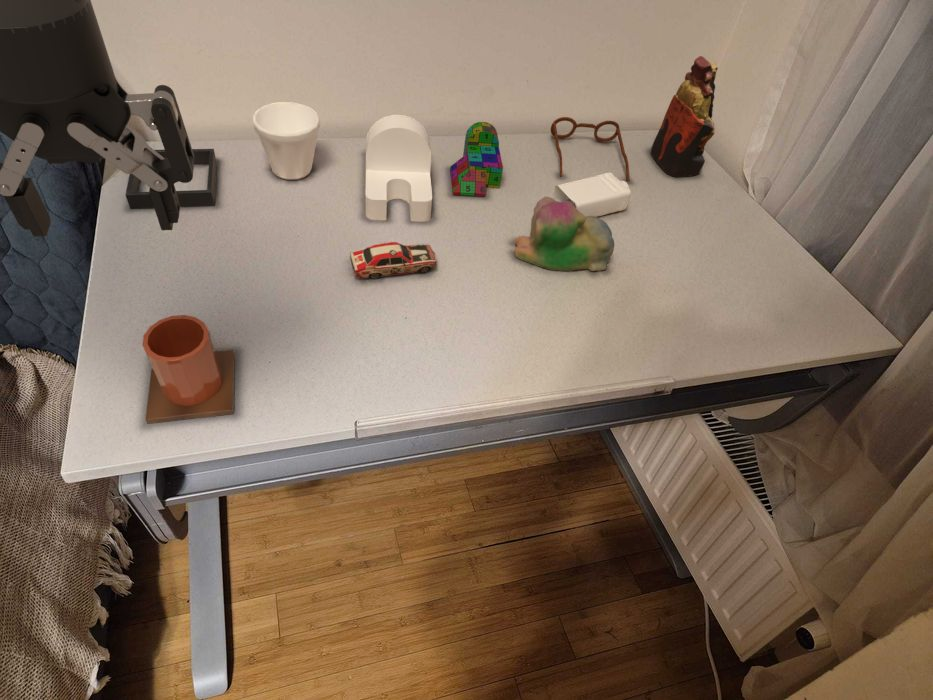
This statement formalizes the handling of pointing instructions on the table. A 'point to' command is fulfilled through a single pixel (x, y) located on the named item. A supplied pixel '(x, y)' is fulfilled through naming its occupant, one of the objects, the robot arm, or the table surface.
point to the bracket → (398, 167)
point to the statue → (687, 123)
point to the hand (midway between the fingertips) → (106, 226)
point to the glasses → (575, 125)
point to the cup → (288, 137)
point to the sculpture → (565, 238)
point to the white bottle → (595, 194)
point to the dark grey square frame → (185, 197)
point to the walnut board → (215, 406)
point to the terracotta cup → (183, 359)
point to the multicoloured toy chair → (478, 162)
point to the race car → (392, 260)
